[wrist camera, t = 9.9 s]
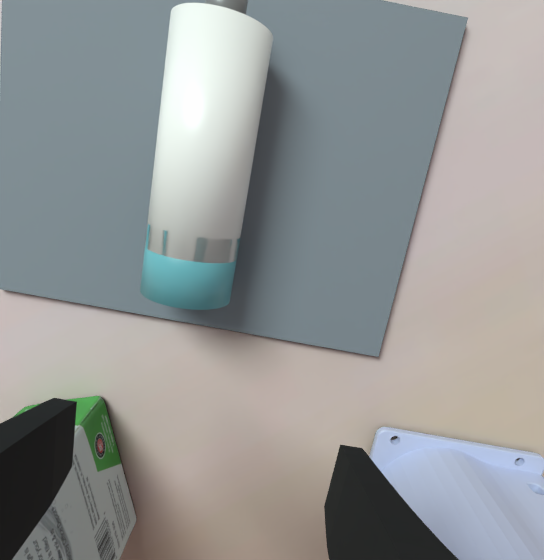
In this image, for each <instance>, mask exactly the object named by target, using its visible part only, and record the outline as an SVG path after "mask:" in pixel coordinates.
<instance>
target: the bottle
mask: <svg viewBox="0 0 544 560" xmlns="http://www.w3.org/2000/svg"><path fill="white" fill-rule="evenodd" d="M247 4H248V0H205V3H183V4H179V5H176V6H175V7H173V8H172V10H171V14H170V23H169V32H168V41H167V50H166V59H165V69H164V78H163V87H162V96H161V105H160V114H159V123H158V132H157V141H156V150H155V159H154V169H153V178H152V187H151V196H150V205H149V214H148V223H147V232H146V241H145V250H144V259H143V268H142V278H141V287H140V292H141V294H142V295H143V296H144V297H145V298H147V299H149V300H151V301H153V302H156V303H159V304H162V305H166V306H170V307H175V308H182V309H192V310H209V309H217V308H221V307H224V306H226V305H228V304H229V302H230V297H231V291H232V285H233V279H234V273H235V266H236V260H237V254H238V248H239V242H240V236H241V230H242V224H243V218H244V212H245V206H246V200H247V194H248V188H249V182H250V176H251V170H252V163H253V157H254V151H255V145H256V139H257V133H258V127H259V121H260V115H261V109H262V103H263V97H264V91H265V85H266V79H267V73H268V66H269V60H270V54H271V48H272V42H273V35H272V33H271V32H270V30H269V29H268V28H267V27H266V26H264V25H263V24H262V23H260V22H259V21H257V20H255V19H253V18H252V17H250V16H247V15H246V11H247Z"/></svg>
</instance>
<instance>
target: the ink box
mask: <svg viewBox="0 0 544 560" xmlns="http://www.w3.org/2000/svg"><path fill="white" fill-rule="evenodd" d="M68 400H69V401H75V402H77V407H76V420H75V434H74V448H73V462H72V468H71V470H70V472H69V474H68V475H67V477H66V479H65V481H64V483H63V485H62V487H61V488H60V490H59V492H58V494H57V495H56V497H55V499H54V501H53V502H52V504H51V506H50V507H49V508H48V510H47V511H46V513H45V514H44V516H43V517H42V518H41V520H40V521H39V523H38V524H37V526H36V527H35V528H34V530H33V531H32V533H31V534H30V535H29V537H28V538H27V540H26V541H25V542H24V544H23V545H22V547H21V548H20V549H19V551H18V552H17V554H16V555H15V556H14V558H13V559H12V560H119V559H120V557H121V555H122V553H123V550H124V548H125V545H126V543H127V541H128V538H129V536H130V534H131V532H132V530H133V527H134V525H135V523H136V514H135V511H134V507H133V503H132V500H131V496H130V493H129V489H128V485H127V482H126V478H125V475H124V471H123V467H122V464H121V460H120V457H119V453H118V449H117V445H116V442H115V438H114V434H113V431H112V427H111V423H110V420H109V416H108V413H107V409H106V405H105V403H104V400H103V399H102V398H101V397H100V396H93V397H85V398H76V399H68ZM37 405H39V404H37ZM37 405H32V406H27V407H24V408H23V409H22V410H21V411H19V412H18V413H17V414H16V415H15V416H17V415H19V414H21V413H23V412H25V411H27V410H29V409H31V408H33V407H35V406H37ZM15 416H14V417H15Z"/></svg>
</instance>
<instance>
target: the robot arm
mask: <svg viewBox="0 0 544 560" xmlns="http://www.w3.org/2000/svg"><path fill="white" fill-rule="evenodd" d="M76 407H77V402H75V401H69V400H63V399H57V398H53V399H51V400H48V401H46V402H44V403H41V404H39V405H37V406H35V407H33V408H31V409H29V410H27V411H25V412H23V413H21V414H19V415H17V416H15V417H13V418H11V419H9V420H7V421H5V422H3V423H1V424H0V560H12V559H13V558H14V556H15V555H16V554H17V552H18V551H19V549H20V548H21V547H22V545H23V544H24V542H25V541H26V540H27V538H28V537H29V535H30V534H31V533H32V531H33V530H34V528H35V527H36V526H37V524H38V523H39V521H40V520H41V518H42V517H43V516H44V514H45V513H46V511H47V510H48V508H49V507H50V506H51V504H52V502H53V501H54V499H55V497H56V495H57V494H58V492H59V490H60V488H61V487H62V485H63V483H64V481H65V479H66V477H67V475H68V474H69V472H70V470H71V468H72V462H73V448H74V434H75V420H76ZM393 436H398V437H397V439H395V440H391V438H392V437H393ZM518 458H520V459H519V460H518V461H515V460H516V459H518ZM543 471H544V458H543V457H542V456H541V455H540V454H537V453H533V452H527V451H522V450H516V449H510V448H504V447H499V446H493V445H487V444H481V443H476V442H470V441H464V440H459V439H453V438H447V437H441V436H436V435H430V434H424V433H419V432H413V431H407V430H401V429H396V428H390V427H382V428H379V429H378V430H377V432H376V434H375V438H374V441H373V445H372V449H371V452H370V456H368V455H367V453H366V452H365V451H364V450H363V449H362V448H357V447H351V446H345V445H340V448H339V452H338V456H337V460H336V464H335V468H334V471H333V475H332V479H331V483H330V487H329V491H328V495H327V498H326V502H325V506H324V507H325V524H326V538H327V548H328V554H329V560H544V477H543V476H542V474H543Z"/></svg>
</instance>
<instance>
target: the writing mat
mask: <svg viewBox="0 0 544 560" xmlns="http://www.w3.org/2000/svg"><path fill="white" fill-rule="evenodd" d="M183 3H205V0H2V27H1V69H0V289H2V290H8V291H13V292H19V293H25V294H30V295H36V296H41V297H47V298H53V299H58V300H64V301H69V302H75V303H80V304H86V305H92V306H97V307H103V308H108V309H114V310H120V311H125V312H131V313H136V314H142V315H147V316H153V317H159V318H164V319H170V320H175V321H181V322H187V323H192V324H198V325H203V326H209V327H214V328H220V329H226V330H231V331H237V332H242V333H248V334H254V335H259V336H265V337H270V338H276V339H281V340H287V341H293V342H298V343H304V344H309V345H315V346H320V347H326V348H332V349H337V350H343V351H348V352H354V353H360V354H365V355H371V356H376V357H378V356H379V353H380V349H381V345H382V341H383V337H384V334H385V330H386V326H387V322H388V319H389V315H390V311H391V307H392V303H393V300H394V296H395V292H396V288H397V285H398V281H399V277H400V273H401V269H402V266H403V262H404V258H405V254H406V250H407V247H408V243H409V239H410V235H411V232H412V228H413V224H414V220H415V216H416V213H417V209H418V205H419V201H420V198H421V194H422V190H423V186H424V182H425V179H426V175H427V171H428V167H429V163H430V160H431V156H432V152H433V148H434V145H435V141H436V137H437V133H438V129H439V126H440V122H441V118H442V114H443V110H444V107H445V103H446V99H447V95H448V92H449V88H450V84H451V80H452V76H453V73H454V69H455V65H456V61H457V58H458V54H459V50H460V46H461V42H462V39H463V35H464V31H465V27H466V23H467V20H468V18H467V17H462V16H457V15H452V14H447V13H442V12H437V11H432V10H427V9H422V8H417V7H412V6H407V5H402V4H397V3H393V2H388V1H383V0H248V4H247V11H246V15H247V16H250V17H252V18H253V19H255V20H257V21H259V22H260V23H262V24H263V25H264V26H266V27H267V28H268V29H269V30H270V32H271V33H272V35H273V42H272V48H271V54H270V60H269V66H268V73H267V79H266V85H265V91H264V97H263V103H262V109H261V115H260V121H259V127H258V133H257V139H256V145H255V151H254V157H253V163H252V170H251V176H250V182H249V188H248V194H247V200H246V206H245V212H244V218H243V224H242V230H241V236H240V242H239V248H238V254H237V260H236V266H235V273H234V279H233V285H232V291H231V297H230V302H229V304H228V305H226V306H224V307H221V308H217V309H209V310H192V309H182V308H175V307H170V306H166V305H162V304H159V303H156V302H153V301H151V300H149V299H147V298H145V297H144V296H143V295H142V294H141V292H140V287H141V278H142V268H143V259H144V250H145V241H146V232H147V223H148V214H149V205H150V196H151V187H152V178H153V169H154V159H155V150H156V141H157V132H158V123H159V114H160V105H161V96H162V87H163V78H164V69H165V59H166V50H167V41H168V32H169V23H170V14H171V10H172V8H173V7H175V6H176V5H179V4H183Z"/></svg>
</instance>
